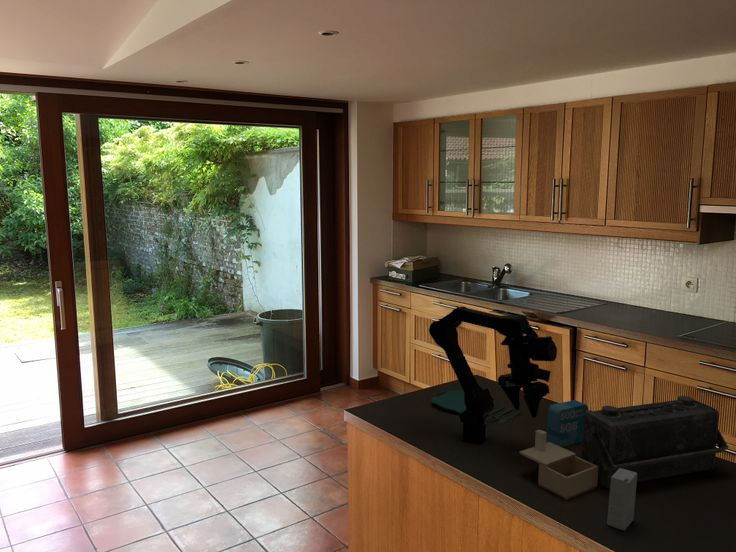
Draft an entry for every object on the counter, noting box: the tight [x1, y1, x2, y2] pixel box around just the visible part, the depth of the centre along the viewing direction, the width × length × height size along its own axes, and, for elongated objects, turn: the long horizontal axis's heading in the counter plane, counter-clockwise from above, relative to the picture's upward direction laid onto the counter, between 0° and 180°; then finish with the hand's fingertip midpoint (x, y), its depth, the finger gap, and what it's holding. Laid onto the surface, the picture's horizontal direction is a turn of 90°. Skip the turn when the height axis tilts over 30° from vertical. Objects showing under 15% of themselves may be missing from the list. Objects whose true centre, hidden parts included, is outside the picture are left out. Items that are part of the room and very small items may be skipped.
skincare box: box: [606, 468, 638, 531], centre depth 141 cm, size 6×4×12 cm
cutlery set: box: [430, 390, 522, 426], centre depth 214 cm, size 20×30×2 cm, turn 45°
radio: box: [580, 395, 729, 489], centre depth 165 cm, size 38×14×20 cm, turn 108°
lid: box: [519, 429, 577, 466], centre depth 164 cm, size 9×12×6 cm
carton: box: [537, 455, 598, 501], centre depth 159 cm, size 9×12×6 cm
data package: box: [546, 399, 589, 448], centre depth 186 cm, size 12×4×12 cm, turn 116°
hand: (525, 413), depth 176 cm, fingers open, 9 cm apart
